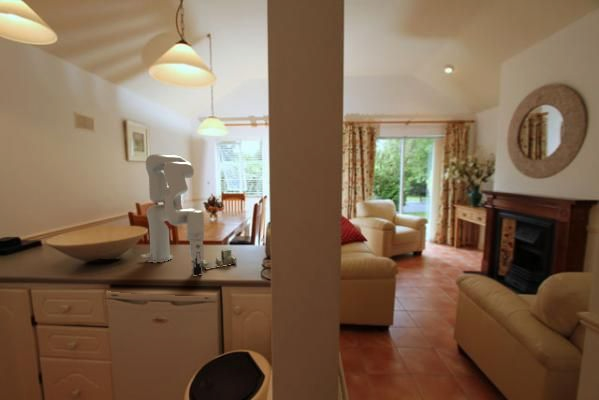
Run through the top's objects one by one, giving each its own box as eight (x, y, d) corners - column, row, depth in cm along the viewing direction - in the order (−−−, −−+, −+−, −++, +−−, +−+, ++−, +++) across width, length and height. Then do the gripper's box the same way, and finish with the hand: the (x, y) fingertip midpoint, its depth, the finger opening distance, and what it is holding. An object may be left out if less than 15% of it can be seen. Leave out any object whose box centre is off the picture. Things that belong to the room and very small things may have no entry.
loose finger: (193, 277, 117) (192, 262, 116) (191, 274, 120) (191, 260, 119) (203, 275, 119) (202, 261, 118) (201, 272, 122) (201, 258, 122)
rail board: (204, 270, 125) (204, 255, 124) (201, 265, 132) (201, 251, 131) (236, 264, 134) (236, 250, 133) (232, 260, 141) (232, 246, 140)
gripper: (207, 238, 112) (208, 277, 114) (200, 231, 127) (201, 266, 128) (189, 240, 109) (191, 280, 110) (184, 233, 123) (186, 268, 124)
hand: (196, 272), depth 119 cm, fingers closed on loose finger, 3 cm apart
